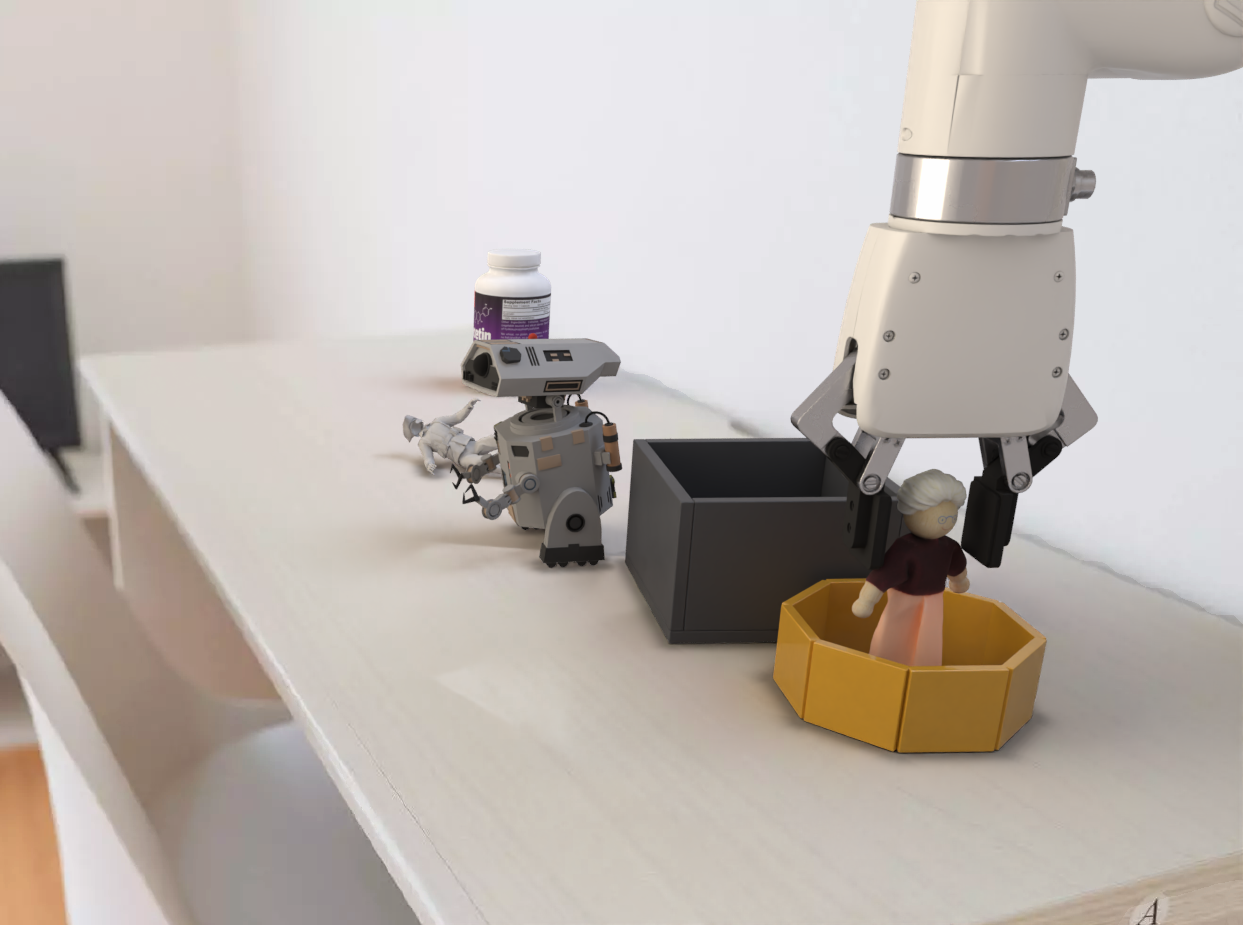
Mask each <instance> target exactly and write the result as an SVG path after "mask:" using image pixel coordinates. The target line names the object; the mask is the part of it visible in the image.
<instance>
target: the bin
mask: <svg viewBox="0 0 1243 925" xmlns="http://www.w3.org/2000/svg"><path fill="white" fill-rule="evenodd" d="M848 484H849V481H848V480H847V479H846V478H845V477H844V476H843V475H842V474H841V472H840V471H839V470H838V469H837V468H836V467H835V466H834V465H833V464H832V463H831V461H830V460H829V459H828V458H827V457H826V456H825V455H824V454H823V453H822V452H821V450H819V449H818V448H817V447H816V446H815V445H814V444H813V443H812V442H811V441H810V440H808V439H807V438H806V437H752V438H751V437H750V438H749V437H741V438H740V437H736V438H735V437H732V438H731V437H730V438H728V437H726V438H725V437H724V438H719V437H718V438H713V437H712V438H711V437H709V438H634V439H633V440H632V453H631V468H630V482H629V496H628V510H627V511H628V512H627V523H626V524H627V525H626V526H627V527H626V540H625V541H626V542H625V553H624V554H625V555H624V563H625V565H626V567H627V569H628V571H629V572H630V575H631V576H632V578H633V580H634V582H635V584H636V585H637V588H638V589H639V591H640V593H641V595H642V597H643V598H644V600H645V602H646V604H647V605H648V607H649V609H650V611H651V613H652V615H653V616H654V619H655V620H656V622H657V624H658V626H659V628H660V630H661V632H662V633H663V635H664V638H666V640H667V643H668V644H673V645H674V644H675V645H676V644H748V643H749V644H750V643H751V644H755V643H756V644H758V643H761V644H762V643H764V644H765V643H769V644H770V643H777V639H778V631H779V622H780V614H781V605H782V603H783V602H784V601H786V600H788V599H790V598H791V597H793V596H795V595H797V594H798V593H800V592H802V591H804V590H805V589H807V588H809V587H811V586H812V585H814V584H816V583H817V582H819V581H821V580H826V579H866V578H867V576H868V575H869V574H870V572H871V571H872V570H867V569H866V568H865V567H864V566H863V565H862V564H861V563H860V562H859V561H858V560H857V559H856V558H855V557H854V556H853V555H852V554H851V553H850V552H849V550H848V547H847V546H846V545H845V544H844V542H843V536H842V532H843V523H844V516H845V508H846V500H847V492H848ZM900 487H901V485H899V484H897V483H896V482H895V481H894V480H892V479H891V478H890V477H889V476H888V477H887V479H886V481H885V487H884V491H885V492H886V493H887V494H888V495H890V496H891V498H892V507H891V514H890V521H889V529H888V536H887V543H886V550H885V553H886V552H887V550H888V549H889V548H890V547H891V546H892V544H893V543H894V542H895V540H896V539H897V538H899V537H901V536H903V535H905V534H908V533H911V531H910V530H909V529H908V527H907V526H906V524H905V521H904V516H903V513H901V512H900V511H899V510H898V509H897V505H898V501H899V500H898V499H897V492H898V490H899V489H900Z"/></svg>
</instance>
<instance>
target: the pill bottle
mask: <svg viewBox="0 0 1243 925" xmlns="http://www.w3.org/2000/svg"><path fill="white" fill-rule="evenodd" d="M486 260H487V261H486V263H487V264H486V265H487V266H488V268H489V269H488V271H486V272H484V273H482V274H480V275H479V277H478V278H477V279H476V280H475V283H474V294H473V296H474V298H473V301H474V302H473V304H474V305H473V334H472V336H473V338H472V342H473V341H474V340H500V339H528V336H529V335H530V334H531V333H535V334H536V335H537V339H550V319H551V300H552V284H551V282H550V280H549V279H548V277H547V276H546V275H544V274H542V273H541V272H539V268H540V267H541V263H542V252H541V251H539V250H535V249H528V248H496V249H491V250H488V251H487V259H486Z"/></svg>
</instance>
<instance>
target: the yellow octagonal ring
mask: <svg viewBox="0 0 1243 925" xmlns="http://www.w3.org/2000/svg"><path fill="white" fill-rule="evenodd" d="M865 582H866V579H826V580H821V581H819V582H817V583H816V584H814V585H812V586H811V587H809V588H807V589H805V590H804V591H802V592H800V593H798V594H797V595H795V596H793V597H791V598H790V599H788V600H786V601H784V602H783V603H782V605H781V614H780V622H779V631H778V639H777V642H776V649H775V656H774V657H775V658H774V664H773V665H774V666H773V674H772V680H773V681H774V682H775V684H776V686H777V687H778V688H779V690H780V691H781V692H782V694H783V695H784V697H785V698H786V700H787V702H788V703H789V704H790V706H791V707H792V708H793V710H794V711H795V713H796V714H797V716H798V718H800V719H802V720H803V721H804V722H805V723H809V724H811V725H814V726H817V727H820V728H823V729H826V730H829V731H831V732H835V733H838V734H839V735H840V734H841V735H844V736H847V737H849V738H853V739H855V740H857V741H861V742H863V743H866V744H870V745H873V746H875V747H878V748H881V749H883V750H887V751H890V752H895V751H897V753H899V754H904V753H905V754H907V753H910V754H911V753H979V752H980V753H981V752H982V753H984V752H989V753H990V752H994V751H999V750H1000V749H1001V748H1002V747H1003V746H1004V745H1005V744H1006V743H1007V742H1008V741H1009V740H1010V739H1012V737H1013V736H1015V735H1016V733H1017V732H1019V731H1020V730H1021V729H1022V728H1023V727H1024V726H1025V725H1026V724H1027V723H1028V722H1029V721H1030V720H1031V719H1032V718H1033V715H1034V714H1033V713H1034V708H1035V703H1036V698H1037V693H1038V688H1039V683H1040V678H1041V672H1042V669H1043V668H1042V667H1043V662H1044V658H1045V653H1046V648H1047V642H1048V641H1047V637H1046V636H1045V635H1044V634H1043V633H1042V632H1041V631H1039V630H1038V629H1037V628H1035V627H1034V626H1033V625H1032V624H1031V623H1029V622H1028V621H1027V620H1026V619H1024V618H1023V617H1022V616H1021V615H1020V614H1018V612H1016V611H1014V610H1013V609H1012V608H1011V607H1010V606H1009V605H1007V604H1006V603H1005V602H1003V601H999V600H998V599H995V598H990V597H986V596H982V595H979V594H975V593H971V592H967V591H966V592H964V593H955V592H953V591H952V590H951V589H950V588H949V586H948V587H947V586H945V590H944V592H943V626H942V666H907V665H904V664H901V663H897V662H894V661H891V660H887V659H884V658H881V657H877V656H874V655H871V654H869V652H870V646H871V641H872V638H873V635H874V632H875V630H876V628H877V626H878V623H879V621H880V618H881V615H882V613H883V611H884V609H885V607H886V605H887V603H888V594H887V591H886V592H885V593H884V594H883V595H882V597H881V599H880V600H879V602H878V603H876V604H875V605H874V608H873V612H872V614H871V615H870V616H869V617H867V618H859V617H857V616H855V615H854V614H853V612H852V606H853V604H854V602H855V601H856V600H858V599H859V595H860V591H861V589H862V588H863V586H864V584H865Z"/></svg>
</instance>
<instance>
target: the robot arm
mask: <svg viewBox="0 0 1243 925" xmlns="http://www.w3.org/2000/svg"><path fill="white" fill-rule="evenodd" d="M1242 68H1243V0H916V1H915V8H914V18H913V25H912V31H911V39H910V48H909V55H908V64H907V72H906V78H905V85H904V86H905V87H904V95H903V103H902V111H901V118H900V126H899V134H898V142H897V150H896V152H897V154H896V157H895V165H894V172H893V173H894V174H893V181H892V188H891V196H890V204H889V210H888V211H889V213H888V217H887V218H888V219H887V222H873V223H870V224H869V226H868V228H867V231H866V234H865V237H864V239H863V242H862V245H861V248H860V251H859V254H858V257H857V261H856V263H855V264H856V265H855V267H854V271H853V275H852V279H851V283H850V286H849V290H848V294H847V298H846V301H845V302H846V303H845V306H844V310H843V315H842V320H841V324H840V329H839V334H838V339H837V343H836V350H835V356H834V360H833V366H832V372H830V373H829V374H828V375H827V376H826V378H825V379H824V380H823V381H822V382H821V383H820V384H819V385H818V386H817V387H816V388H815V389H814V390H813V391H812V392H811V393H810V394H809V395H808V396H807V397H806V398H805V399H804V400H803V401H802V402H801V403H800V404H799V405H798V406H797V408H795V410H794V411H793V412H792V413H791V415H790V423H791V425H792V426H793V427H794V428H795V429H796V430H797V431H799V432H800V434H802V435H803V436H804V438H807V439H808V440H810V441H811V442H812V443H813V444H814V445H815V446H816V447H817V448H818V449H819V450H821V452H822V453H823V454H824V455H825V456H826V457H827V458H828V459H829V460H830V461H831V463H832V464H833V465H834V466H835V467H836V468H837V469H838V470H839V471H840V472H841V474H842V475H843V476H844V477H845V478H846V479H847V480H848V481H849V484H848V492H847V500H846V508H845V516H844V523H843V532H842V536H843V542H844V544H845V545H846V546H847V547H848V550H849V552H850V553H851V554H852V555H853V556H854V557H855V558H856V559H857V560H858V561H859V562H860V563H861V564H862V565H863V566H864V567H865V568H866V569H867V570H878V569H879V568H880V567H882V566H883V564H884V557H885V550H886V543H887V536H888V529H889V521H890V514H891V507H892V498H891V496H890V495H888V494H887V493H886V492H885V491H884V487H885V481H886V479H887V477H888V478H889V474H890V473H891V470H892V469H893V466H894V464H895V462H896V460H897V458H898V455H899V453H900V451H901V450H902V447H903V446H904V443H905V441H906V439H975V438H977V439H978V445H979V451H980V455H981V456H980V457H981V461H982V462H981V463H982V468H983V469H982V473H981V475H974V476H973V480H971V481H970V484H969V488H968V496H967V502H966V507H965V514H964V515H965V516H964V519H963V526H962V531H961V539H960V546H961V548H962V550H963V552H964V553H967V554H968V555H969V556H971V557H972V559H974V560H975V561H977V562H978V563H979V564H980V565H982V566H984V567H985V568H987V569H998V568H1000V567H1001V565H1002V561H1003V555H1004V549H1005V547H1008V545H1009V544H1010V542H1011V539H1012V533H1013V529H1014V528H1013V526H1014V522H1015V517H1016V510H1017V504H1018V500H1019V494H1022V493H1025V492H1027V491H1028V490H1029V489H1030V488H1031V487H1032V484H1033V479H1034V477H1035V476H1037V475H1038V474H1039V473H1040V472H1042V471H1043V470H1045V468H1046V467H1048V466H1049V465H1050V464H1051V463H1053V461H1055V460H1056V459H1057V458H1058V457H1059V456H1060V455H1061V454H1062V451H1063V450H1064V448H1066V447H1067V448H1068V447H1070V446H1071V445H1072V444H1074V443H1075V442H1076V441H1078V440H1079V439H1081V437H1083V436H1084V435H1086V434H1087V433H1088V432H1090V431H1091V430H1092V429H1094V428H1095V427H1096V426H1097V424H1098V422H1099V417H1098V414H1097V413H1096V411H1095V409H1094V408H1093V406H1092V405H1091V403H1090V402H1089V401H1088V399H1087V398H1086V396H1085V394H1084V393H1083V392H1082V390H1081V389H1080V387H1079V385H1078V384H1077V383H1076V381H1075V380H1074V378H1073V377H1072V376H1071V375H1070V372H1069V371H1070V364H1071V358H1072V350H1073V341H1074V340H1073V339H1074V329H1075V316H1076V299H1077V298H1076V297H1077V296H1076V292H1077V267H1076V266H1077V265H1076V264H1077V263H1076V247H1075V235H1074V229H1073V228H1071V227H1067V226H1063V222H1064V221H1063V218H1064V217H1066V216H1068V212H1069V207H1070V203H1073V202H1075V201H1076V200H1089V199H1090V198H1091V197H1092V196H1093V194H1094V193H1095V190H1096V187H1097V176H1096V173H1095V171H1093V169H1080V168H1079V167H1077V163H1078V158H1077V157H1076V156H1074V155H1075V152H1076V148H1077V147H1076V146H1077V142H1078V135H1079V130H1080V125H1081V118H1082V113H1083V107H1084V102H1085V96H1086V90H1087V85H1088V80H1089V79H1091V80H1092V79H1093V80H1094V79H1132V80H1137V81H1139V80H1140V81H1182V80H1183V81H1184V80H1198V79H1199V80H1200V79H1206V78H1207V79H1208V78H1212V77H1218V76H1222V75H1225V74H1229V73H1231V72H1234V71H1237V70H1241V69H1242ZM837 414H839V415H841V416H843V417H846V418H848V419H849V418H850V419H855V420H856V422H857V426H858V428H857V429H856V432H855V434H854V436H853V439H852V441H851V442H850V441H849V440H848V439H847V438H846V437H845V436H844V435H843V434H841V433H840V432H839V431H838V430H837V429H836V427H834V424H833V423H834V422H833V421H834V418H835V417H836V415H837Z"/></svg>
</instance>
